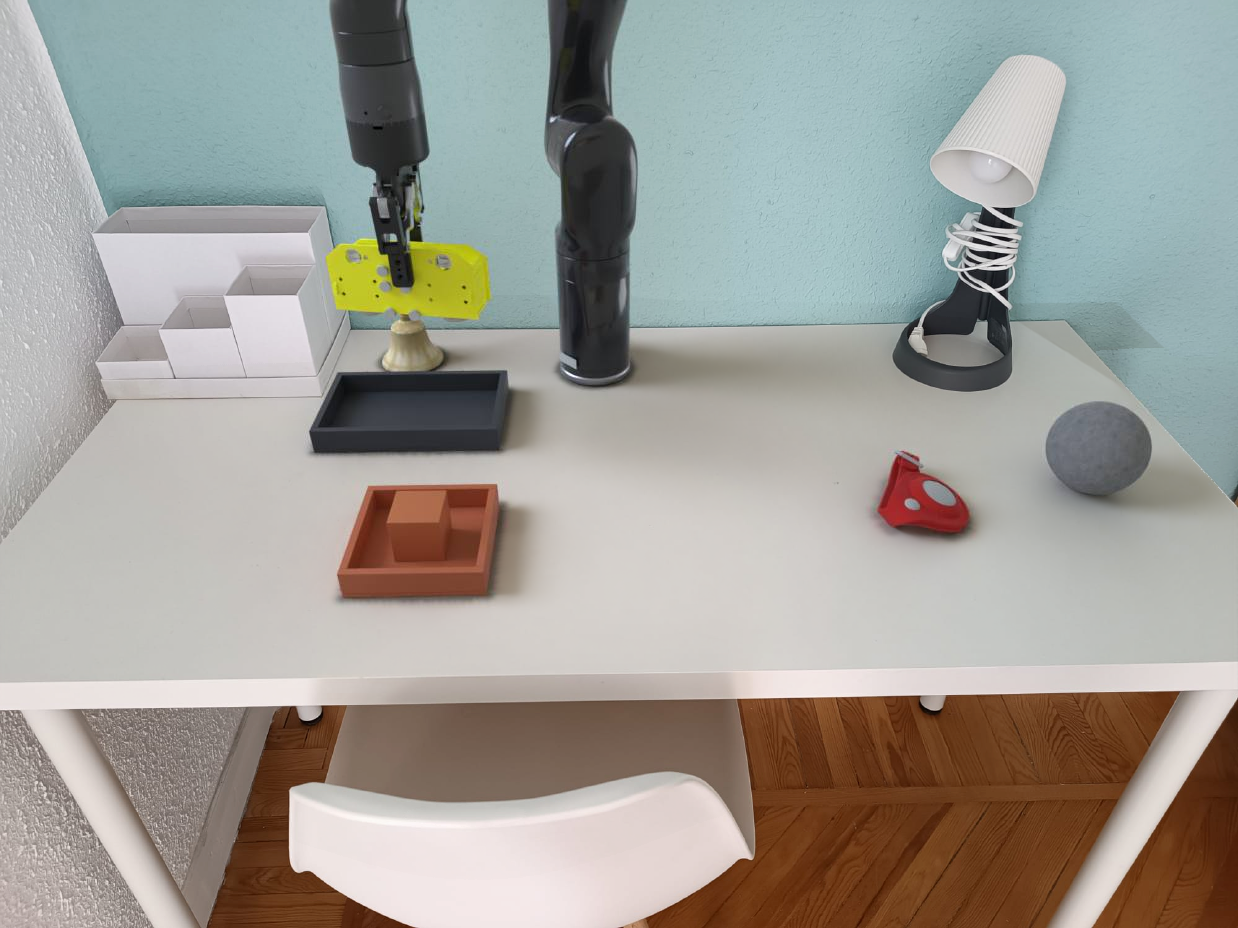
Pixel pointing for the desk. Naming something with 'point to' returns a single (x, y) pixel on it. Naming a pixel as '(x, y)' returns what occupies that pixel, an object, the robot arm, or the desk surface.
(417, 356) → the hand bell
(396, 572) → the terracotta tray
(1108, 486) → the decorative ball
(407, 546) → the terracotta block
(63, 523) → the desk surface
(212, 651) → the desk surface
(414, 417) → the charcoal tray
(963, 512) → the tracker holder
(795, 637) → the desk surface
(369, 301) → the yellow toy chassis
